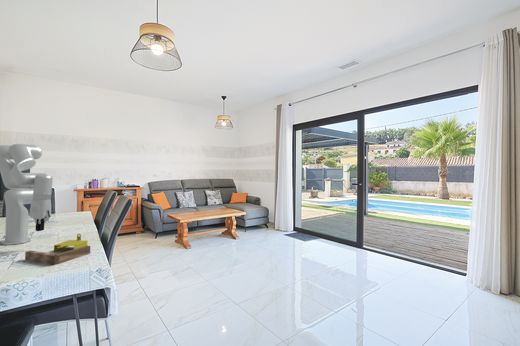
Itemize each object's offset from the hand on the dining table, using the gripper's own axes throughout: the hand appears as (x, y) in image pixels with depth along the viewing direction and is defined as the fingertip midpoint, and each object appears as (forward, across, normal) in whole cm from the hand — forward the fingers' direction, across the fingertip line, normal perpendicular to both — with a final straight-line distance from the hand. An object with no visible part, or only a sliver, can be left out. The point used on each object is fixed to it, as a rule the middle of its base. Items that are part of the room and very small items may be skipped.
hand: (39, 230), depth 136 cm
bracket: (+9, +18, +3) cm, 21 cm away
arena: (+8, +23, -6) cm, 25 cm away
